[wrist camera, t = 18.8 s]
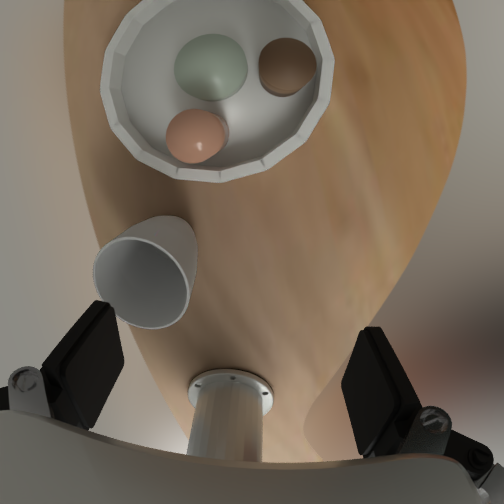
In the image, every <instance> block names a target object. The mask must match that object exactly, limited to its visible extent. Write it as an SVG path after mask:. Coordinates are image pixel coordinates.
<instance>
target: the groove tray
mask: <svg viewBox="0 0 504 504" xmlns="http://www.w3.org/2000/svg"><path fill="white" fill-rule="evenodd" d="M279 38H293V39H297V40H299V41H302V42H303V43H305V44H306V45H307V46H308V47H309V48H310V49H311V50H312V51H313V53H314V55H315V58H316V63H317V67H316V72H315V74H314V76H313V78H312V79H311V80H310V81H309V82H308V83H307V84H306V85H305V86H304V87H303V88H301V89H300V90H299V91H298V92H297V93H295V94H294V95H292V96H288V97H277V96H274V95H272V94H270V93H268V92H267V91H266V90H265V89H264V88H263V87H262V85H261V83H260V80H259V56H260V53H261V51H262V49H263V48H264V47H265V46H266V45H267V44H268V43H269V42H271V41H273V40H275V39H279ZM334 63H335V59H334V56H333V53H332V50H331V47H330V44H329V41H328V38H327V35H326V32H325V30H324V27H323V24H322V22H321V20H320V18H319V17H318V16H317V15H316V14H315V13H314V12H313V11H312V10H311V9H310V8H309V7H308V6H307V5H306V4H305V3H304V2H303V1H302V0H142V1H141V2H140V3H139V4H138V5H136V6H135V7H134V8H133V9H132V10H131V11H129V12H128V13H127V15H125V17H124V19H123V20H122V22H121V24H120V25H119V27H118V29H117V30H116V32H115V34H114V36H113V37H112V39H111V41H110V43H109V45H108V46H107V48H106V51H105V55H104V61H103V68H102V76H101V84H100V90H101V91H100V94H101V97H102V101H103V105H104V108H105V112H106V115H107V119H108V122H109V125H110V128H111V130H112V131H113V132H114V134H115V135H116V136H117V137H118V138H119V140H120V141H121V142H122V143H123V144H124V146H125V147H126V148H127V149H128V150H129V151H130V153H131V154H132V155H133V156H134V157H135V159H137V160H138V161H140V162H142V163H144V164H146V165H148V166H150V167H152V168H154V169H156V170H158V171H160V172H162V173H164V174H166V175H168V176H170V177H172V178H174V179H180V180H192V181H203V182H214V183H223V182H226V181H230V180H233V179H237V178H241V177H244V176H248V175H252V174H255V173H259V172H263V171H266V169H267V170H268V169H269V168H271V167H272V166H273V165H275V164H276V163H278V162H279V161H280V160H282V159H283V158H284V157H286V156H287V155H288V154H290V153H291V152H293V151H294V150H295V149H297V148H298V147H300V146H301V145H302V144H304V143H305V142H306V141H307V139H308V137H309V136H310V134H311V132H312V131H313V129H314V128H315V126H316V124H317V123H318V121H319V119H320V118H321V116H322V115H323V113H324V111H325V110H326V108H327V107H328V105H329V103H330V96H331V88H332V80H333V72H334ZM188 109H200V110H204V111H208V112H211V113H215V114H217V115H219V116H221V117H222V118H223V119H224V120H225V121H226V123H227V124H228V127H229V140H228V142H227V144H226V146H225V147H224V148H223V149H222V150H221V151H220V152H218V153H216V154H215V155H213V156H212V157H210V158H208V159H207V160H205V161H202V162H199V163H185V162H182V161H180V160H178V159H177V158H175V157H174V156H173V155H172V153H171V152H170V151H169V149H168V146H167V143H166V131H167V127H168V125H169V123H170V121H171V120H172V119H173V118H174V117H175V116H176V115H177V114H179V113H180V112H182V111H184V110H188ZM304 141H305V142H304Z"/></svg>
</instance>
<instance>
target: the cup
mask: <svg viewBox="0 0 504 504" xmlns="http://www.w3.org/2000/svg"><path fill="white" fill-rule="evenodd" d="M197 258H198V245H197V241H196V238H195V234H194V231H193V229H192V227H191V226H190V225H189V224H188V223H187V222H186V221H185V220H184V219H182V218H180V217H177V216H156V217H152V218H150V219H147V220H145V221H142V222H140V223H138V224H135V225H133V226H131V227H130V228H128V229H127V230H125V231H124V232H123V233H121V234H120V235H118V236H117V237H116V238H114V239H113V240H111V241H110V242H109V243H107V244H106V245H105V246H104V247H103V248H102V249H101V250H100V251H99V253H98V254H97V256H96V259H95V262H94V266H93V280H94V284H95V288H96V290H97V293H98V295H99V297H100V299H101V300H102V301H104V302H109V303H110V305H111V307H114V310H115V315H116V317H118V318H119V319H121V320H122V321H124V322H126V323H128V324H130V325H132V326H135V327H139V328H143V329H161V328H165V327H168V326H170V325H172V324H174V323H176V322H177V321H178V320H179V319H180V318H181V317H182V316H183V315H184V313H185V311H186V309H187V307H188V304H189V300H190V296H191V292H192V288H193V285H194V281H195V277H196V272H197Z"/></svg>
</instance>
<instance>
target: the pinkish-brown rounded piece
mask: <svg viewBox="0 0 504 504" xmlns="http://www.w3.org/2000/svg"><path fill="white" fill-rule="evenodd" d="M228 140H229V127H228V124H227V123H226V121H225V120H224V119H223V118H222V117H221V116H219V115H217V114H215V113H211V112H208V111H204V110H200V109H188V110H184V111H182V112H180V113H179V114H177V115H176V116H175V117H174V118H173V119H172V120H171V121H170V123H169V125H168V127H167V131H166V143H167V146H168V149H169V151H170V152H171V153H172V155H173V156H174V157H175V158H177V159H178V160H180V161H182V162H185V163H199V162H202V161H205V160H207V159H208V158H210V157H212V156H213V155H215V154H216V153H218V152H220V151H221V150H222V149H223V148H224V147H225V146H226V144H227V142H228Z"/></svg>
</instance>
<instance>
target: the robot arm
mask: <svg viewBox="0 0 504 504" xmlns="http://www.w3.org/2000/svg"><path fill="white" fill-rule="evenodd" d="M123 366H124V356H123V351H122V346H121V342H120V337H119V331H118V326H117V321H116V315H115V310H114V307H111V305H110V303H109V302H104V301H98V300H96V301H94V302H93V303H92V304H91V305H90V307H89V308H88V309H87V310H86V311H85V313H83V315H82V316H81V317H80V318H79V319H78V321H77V322H76V323H75V324H74V325H73V327H72V328H71V329H70V330H69V331H68V333H67V334H66V335H65V336H64V337H63V338H62V340H61V341H60V342H59V344H58V345H57V346H56V347H55V348H54V350H53V351H52V352H51V354H50V355H49V356H48V357H47V359H46V360H45V361H44V362H43V364H42V368H41V369H40V370H38V369H37V368H34V367H30V366H26V367H21V368H19V369H17V370H15V371H14V372H13V373H12V374H11V375H10V378H9V380H8V386H6V387H2V388H0V504H504V467H502V466H501V465H500V464H499V463H496V464H495V465H494V464H493V460H494V459H493V454H492V452H491V451H490V449H489V448H488V447H487V446H485V445H483V444H482V443H479V442H477V441H475V440H473V439H471V438H468V437H466V436H464V435H462V434H460V433H458V432H456V431H454V430H451V428H452V422H451V418H450V417H449V415H448V413H446V412H445V411H444V410H443V409H441V408H439V407H435V406H426V407H422V405H421V403H420V401H419V399H418V397H417V395H416V393H415V391H414V389H413V387H412V385H411V383H410V381H409V379H408V377H407V375H406V373H405V371H404V369H403V367H402V365H401V363H400V361H399V360H398V358H397V356H396V354H395V352H394V350H393V348H392V347H391V345H390V343H389V341H388V339H387V338H386V336H385V334H384V332H383V330H382V329H381V328H380V327H365V328H364V330H361V331H360V332H359V335H358V338H357V341H356V343H355V346H354V349H353V352H352V355H351V357H350V360H349V363H348V365H347V368H346V371H345V373H344V376H343V378H342V382H341V388H342V392H343V395H344V399H345V403H346V406H347V410H348V413H349V417H350V421H351V425H352V428H353V433H354V437H355V441H356V444H357V449H358V452H359V454H360V455H363V459H352V460H341V461H327V462H307V463H268V462H262V431H263V416H264V415H265V414H266V413H268V411H269V410H270V409H271V407H272V405H273V392H272V389H271V388H270V386H269V385H268V384H267V383H266V382H265V381H264V380H263V379H261V378H259V377H258V376H256V375H253V374H251V373H248V372H244V371H241V370H234V369H217V370H211V371H207V372H204V373H202V374H200V375H198V376H197V377H195V378H194V379H193V380H192V381H191V383H190V385H189V389H188V398H189V401H190V403H191V404H192V406H193V407H194V408H195V413H194V418H193V423H192V429H191V434H190V439H189V444H188V449H187V454H186V455H185V454H179V453H173V452H167V451H163V450H158V449H153V448H149V447H144V446H139V445H136V444H132V443H128V442H124V441H120V440H117V439H114V438H110V437H107V436H104V435H100V434H97V433H94V432H91V431H88V430H89V428H93V427H94V425H95V423H96V421H97V419H98V417H99V415H100V413H101V410H102V408H103V406H104V404H105V402H106V400H107V398H108V396H109V394H110V392H111V390H112V388H113V386H114V384H115V382H116V380H117V378H118V376H119V374H120V372H121V370H122V368H123Z"/></svg>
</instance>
